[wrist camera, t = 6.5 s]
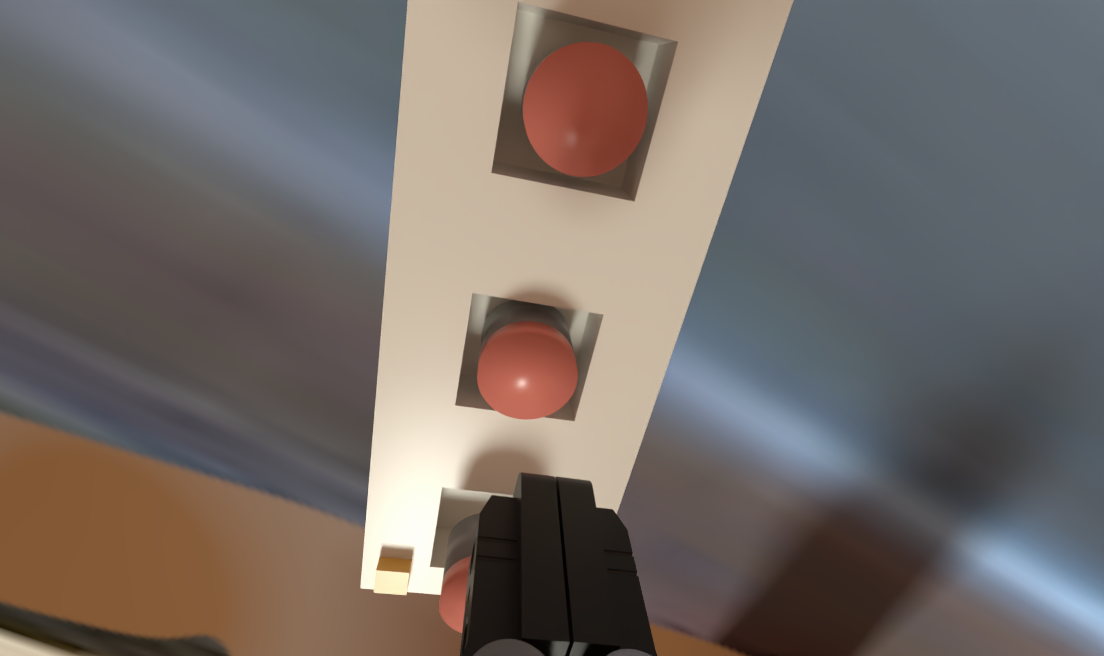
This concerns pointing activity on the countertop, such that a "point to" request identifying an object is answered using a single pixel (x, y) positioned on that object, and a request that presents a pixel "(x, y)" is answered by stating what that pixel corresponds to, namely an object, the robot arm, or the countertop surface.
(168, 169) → the countertop surface
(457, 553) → the button
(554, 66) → the button
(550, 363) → the button
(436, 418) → the button panel
